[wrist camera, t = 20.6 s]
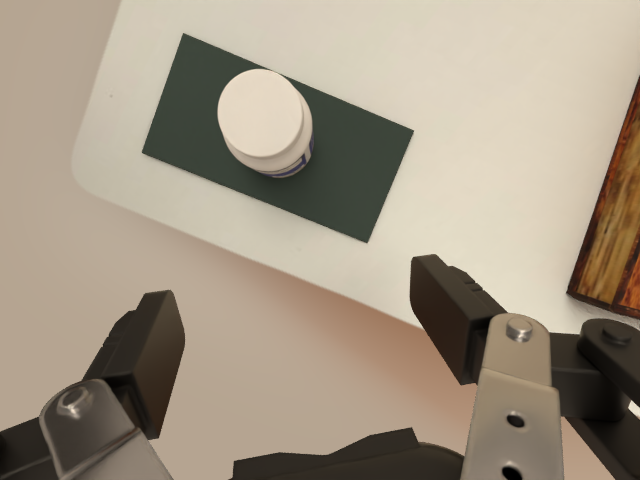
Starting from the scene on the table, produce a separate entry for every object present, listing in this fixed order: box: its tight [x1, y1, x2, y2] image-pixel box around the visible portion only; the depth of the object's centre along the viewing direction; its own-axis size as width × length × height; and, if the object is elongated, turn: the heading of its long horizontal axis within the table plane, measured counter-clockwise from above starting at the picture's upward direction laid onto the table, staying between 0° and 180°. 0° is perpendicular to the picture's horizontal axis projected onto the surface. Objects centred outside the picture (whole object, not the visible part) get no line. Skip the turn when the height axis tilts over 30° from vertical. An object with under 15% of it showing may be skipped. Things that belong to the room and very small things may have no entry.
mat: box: [142, 33, 414, 243], centre depth 29 cm, size 20×10×1 cm, turn 68°
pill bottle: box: [218, 69, 314, 178], centre depth 24 cm, size 6×6×10 cm
